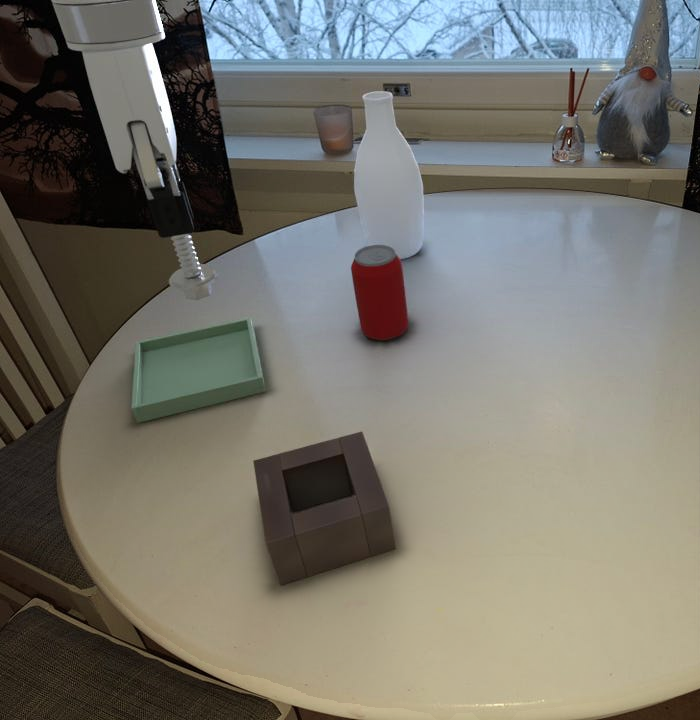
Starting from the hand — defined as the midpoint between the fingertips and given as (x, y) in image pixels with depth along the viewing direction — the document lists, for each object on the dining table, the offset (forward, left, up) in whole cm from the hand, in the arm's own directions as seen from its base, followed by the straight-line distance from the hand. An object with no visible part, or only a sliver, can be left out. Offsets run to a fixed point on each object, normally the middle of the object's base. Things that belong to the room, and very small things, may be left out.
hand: (177, 227), depth 67 cm
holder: (+7, -20, -25) cm, 33 cm away
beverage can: (+21, +12, -25) cm, 35 cm away
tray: (-4, +12, -25) cm, 28 cm away
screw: (0, 0, -8) cm, 8 cm away
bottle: (+29, +36, -25) cm, 53 cm away
